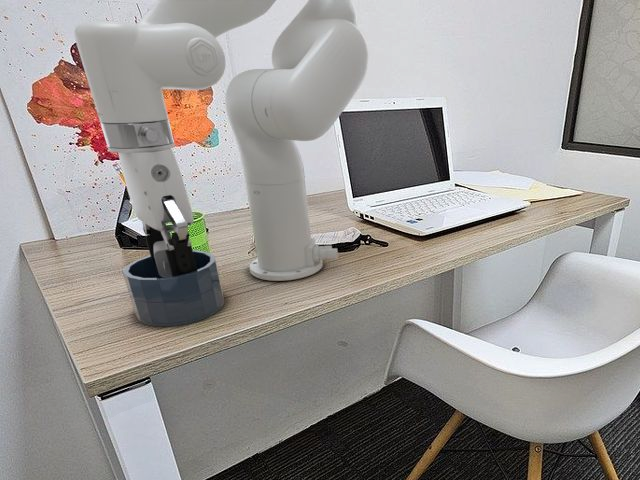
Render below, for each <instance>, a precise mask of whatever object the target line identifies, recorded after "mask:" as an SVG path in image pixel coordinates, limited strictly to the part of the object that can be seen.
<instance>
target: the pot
mask: <svg viewBox="0 0 640 480" xmlns="http://www.w3.org/2000/svg"><path fill="white" fill-rule="evenodd" d="M192 250H193V254H194V258H195V262H196V266H197V270H196V271H193V272H190V273H186V274H182V275H178V276H171V277H161V276H160V275H159V272H158V269H157V265H156V263H155V262H153V261H152V259H151V255H150V254H149V255H146V256H143V257H141V258H139V259H136V260H134V261H132V262H130V263H129V264H127V265H126V266H124V268H123V270H122V275H123V279H124V282H125V284H126V288H127V292H128V296H129V298H130V301H131V304H132V308H133V312H134V314H135V317H136V318H137V320H138V321H139V322H140V323H142V324H144V325H146V326H150V327H157V328H158V327H161V328H164V327H166V328H167V327H177V326H183V325H189V324H193V323H196V322H200V321H202V320H204V319H208V318H209V317H211V316H213V315H215V314H216V313H218V312H220V310H221V309H222V308H223V306H224V304H225V299H224V291H223V287H222V283H221V277H220V272H219V269H218V268H219V267H218V262H217V257H216V255H214V254H212V253H211V252H208V251H203V250H199V249H198V250H197V249H192Z"/></svg>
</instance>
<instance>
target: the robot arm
mask: <svg viewBox="0 0 640 480" xmlns="http://www.w3.org/2000/svg"><path fill="white" fill-rule="evenodd" d="M276 1H277V0H156V2H155V3H154V4H153V5H152V6H151V7H150V8H149V9H148V10H147V11H146V13H145V14H144V15H143V16H142V17H141V18H140V19H139V20H138V21H137V23H135V22H134V23H133V22H130V21H118V20H87V21H81V22H79V23H78V24H77V25H76V26H75V28H74V39H75V43H76V47H77V50H78V53H79V56H80V60H81V63H82V66H83V70H84V73H85V76H86V80H87V83H88V87H89V90H90V93H91V96H92V100H93V103H94V106H95V111H96V113H97V116H98V120H99V123H100V126H101V130H102V133H103V136H104V140H105V143H106V146H107V150H108V152H109V153H114V154H115V153H116V154H118V159H119V164H120V166H121V167H120V168H121V171H122V175H123V178H124V182H125V186H126V190H127V193H128V198H129V200H130V203H131V207H132V209H133V212H134V214H135V216H136V217H137V219H138V220H139V221H141V223H142V230H143V233H144V235H145V236H144V238H145V242H146V244H147V248H148V251H149V255H151V259H152V261H153V262H155V263H156V261H155V258H154V249H153V245H154V243H155V242H158V241H165V243H166V246H167V248H168V250H165V251H166V255H167V258H168V262H169V266H170V269H171V273H172V276H178V275H182V274H186V273H190V272H193V271H196V270H197V266H196V262H195V258H194V254H193V250H194V249H193V247H192V241H191V239H190V235H191V234H190V233H189V232H188V231H189V226H192V225H193V224H194V222H195V219H194V214H193V210H192V206H191V204H190V199H189V196H188V193H187V192H188V191H187V189H186V186H185V182H184V180H183V176H182V173H181V171H180V166H179V164H178V162H177V159H176V157H175V156H176V155H175V154H174V151H173V149H174V148H175V147H176V145H175V140H174V136H173V132H172V128H171V124H170V119H169V115H168V111H167V106H166V102H165V97H164V94H163V90H179V91H202V90H207V89H209V88H211V87H213V86H215V85H216V84H218V82H219V81H220V80H221V79H222V77H223V76H224V74H225V71H226V63H227V62H226V55H225V52H224V48H223V47H222V45H221V43H220V42H219V40H218V39H217V38H219V36H221V35H223V34H225V33H228V32H229V31H232V30H234V29H237V28H240V27H242V26H245V25H248V24H249V23H251V22H253V21H255V20H257V19H259V18H260V17H262V16H264V15H265V14H266V13H268V11H269V10H271V8H272V6H273V5H274V4H275V2H276ZM357 13H358V12H357V10H356V7H355V4H354V0H307V1H306V3H305V4H304V6H303V7H302V8H301V9H300V10H299V11H298V13H297V14H296V15H295V16H294V18H293V19H292V20H291V21H290V23H289V24H288V25H286V27H285V28H284V29H283V30H282V32H281V33H280V35H278V37H277V38H276V41H275V42H274V45H273V47H272V51H271V64H272V67H273V68H253V69H248V70H244V71H242V72H239V73H238V74H236V75H235V76H234V77H233V78H232V79H231V80H230V81H229V83H228V85H227V87H226V91H225V97H224V98H225V99H224V102H225V103H224V104H225V110H226V115H227V118H228V122H229V125H230V127H231V130H232V132H233V136H234V139H235V141H236V145H237V148H238V149H237V150H238V153H239V157H240V162H241V168H242V173H243V178H244V186H245V192H246V198H247V204H248V210H249V216H250V222H251V228H252V229H251V230H252V234H253V240H254V246H255V253H256V258H255V259H253V260H252V261H251V262H250V264H249V265H248V266H249V272H250V274H251V275H252V276H253V277H255V278H257V279H260V280H264V281H272V282H284V281H293V280H299V279H303V278H307V277H309V276H313V275H314V274H316V273H318V272H319V271H320V270H321V269H322V268H323V267H324V266H323V265H324V263H323V260H329V261H330V260H338V259H339V250H338V249H339V248H337V247H335V248H333V246H332V245H319V244H316V238H315V237H312V234H311V233H312V232H311V225H310V217H309V216H310V215H309V207H308V198H307V188H306V176H305V169H304V161H303V160H302V159H303V158H302V155H301V153H300V150H299V147H298V145H297V143H296V141H297V142H310V141H316V140H317V139H319V138H321V137H322V136H324V135H325V134H326V133H328V131H329V130H330V129H331V127H332V126H333V125H334V124H335V123H336V121H337V120H338V118H340V116H341V114H342V113H343V112H344V110H345V109H346V107H347V106H348V105H349V104H350V102H351V101H352V100H353V98H354V96H356V94H357V93H358V91H359V89H360V88H361V86H362V85H363V83H364V81H365V78H366V75H367V73H368V67H369V48H368V43H367V41H366V38H365V36H364V34H363V33H362V31H361V30H360V29H359V28H358V14H357ZM168 223H169V224H168ZM170 223H172V224H170ZM167 224H168V225H167ZM171 232H172V233H171Z"/></svg>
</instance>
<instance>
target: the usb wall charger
mask: <svg viewBox="0 0 640 480" xmlns="http://www.w3.org/2000/svg"><path fill="white" fill-rule="evenodd" d="M153 249H154V258H155V261H156V265H157V269H158V272H159V275H160V276H161V277H171V276H172V273H171V269H170V266H169V262H168V258H167V255H166V251H165V250H168V248H167V246H166V243H165V241H158V242H155V243H154V245H153Z"/></svg>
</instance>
